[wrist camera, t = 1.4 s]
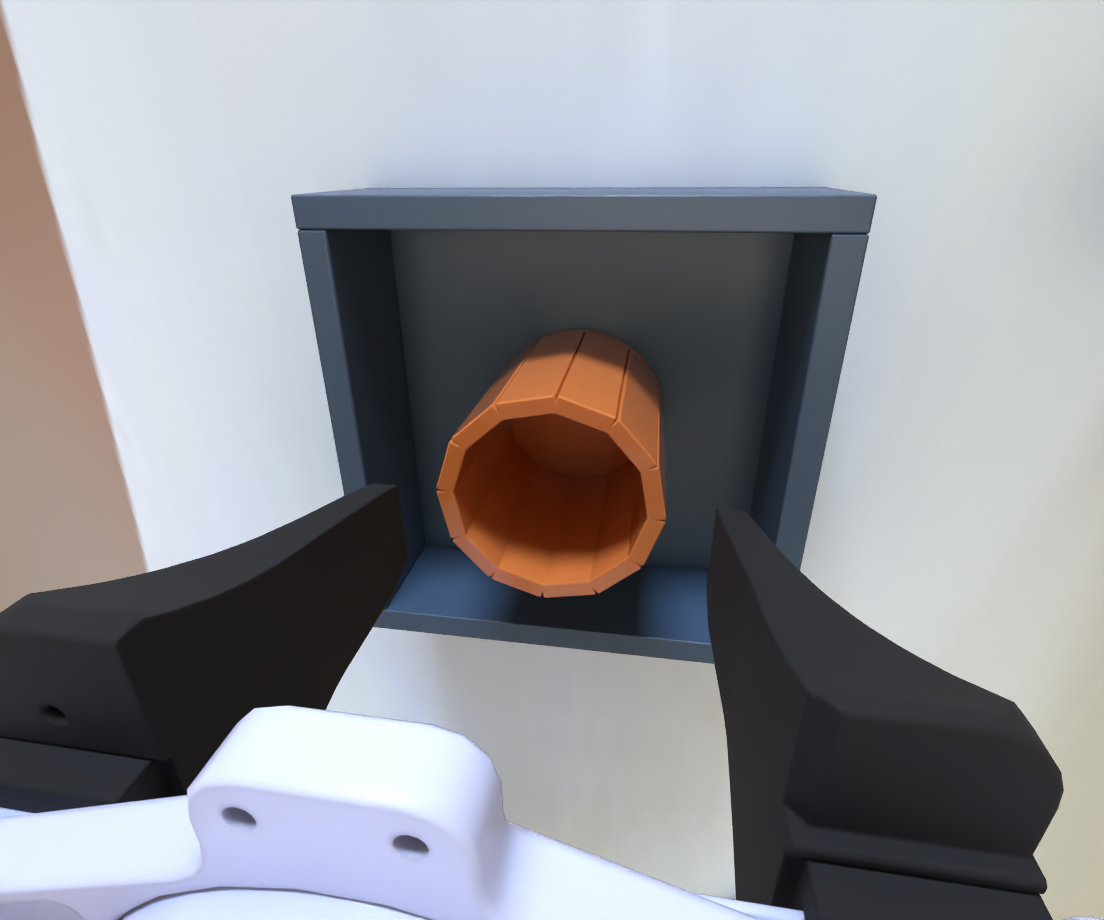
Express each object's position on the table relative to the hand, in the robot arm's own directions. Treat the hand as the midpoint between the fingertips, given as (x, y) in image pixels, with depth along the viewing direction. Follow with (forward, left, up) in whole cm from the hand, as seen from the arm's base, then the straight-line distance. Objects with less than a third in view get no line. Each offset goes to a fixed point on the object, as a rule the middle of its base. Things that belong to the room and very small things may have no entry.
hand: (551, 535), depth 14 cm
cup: (0, 0, -8) cm, 8 cm away
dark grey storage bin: (0, 0, -8) cm, 8 cm away
